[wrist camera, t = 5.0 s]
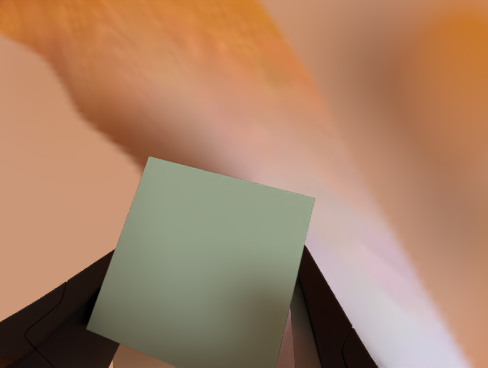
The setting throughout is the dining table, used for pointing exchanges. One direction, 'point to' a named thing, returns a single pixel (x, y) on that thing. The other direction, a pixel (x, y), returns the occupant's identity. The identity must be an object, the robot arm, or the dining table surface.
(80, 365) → the robot arm
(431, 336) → the dining table surface
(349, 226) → the dining table surface
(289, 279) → the sage block
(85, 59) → the dining table surface
